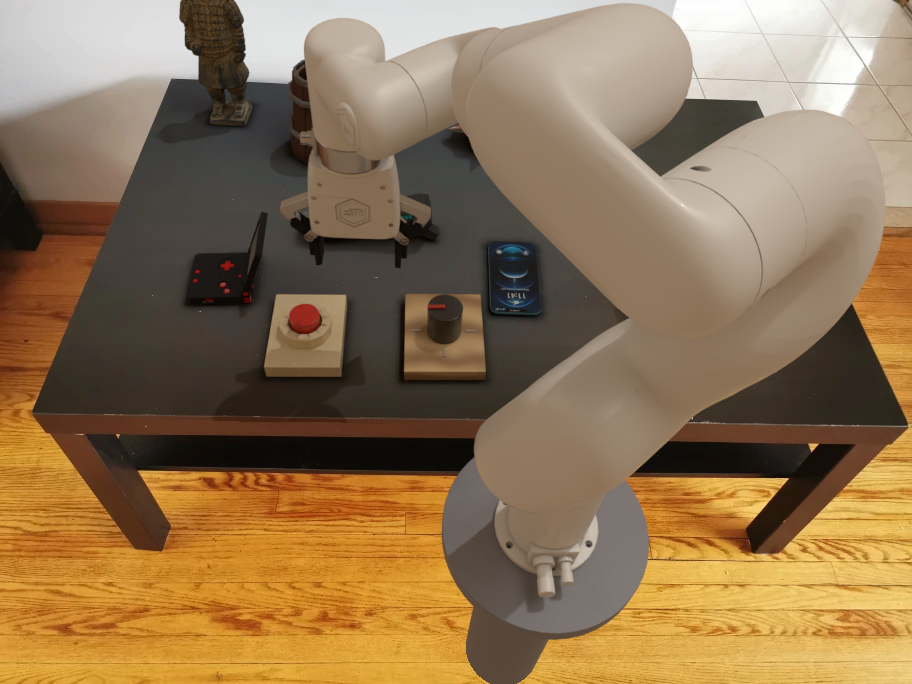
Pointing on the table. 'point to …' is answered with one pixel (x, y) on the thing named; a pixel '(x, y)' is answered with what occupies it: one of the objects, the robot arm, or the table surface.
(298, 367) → the block
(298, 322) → the press button
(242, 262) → the handheld gaming console
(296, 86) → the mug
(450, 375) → the dial panel
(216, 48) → the statue
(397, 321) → the table surface
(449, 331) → the dial
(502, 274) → the smartphone
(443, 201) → the table surface
